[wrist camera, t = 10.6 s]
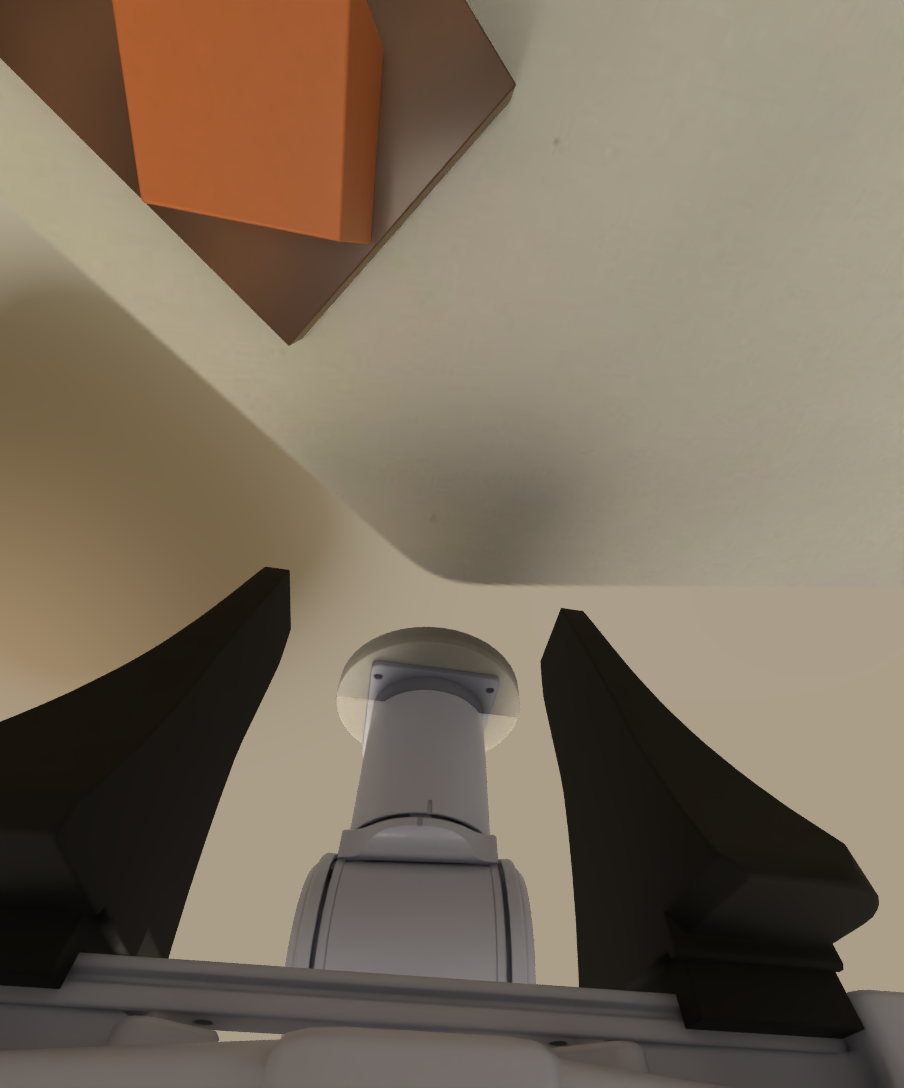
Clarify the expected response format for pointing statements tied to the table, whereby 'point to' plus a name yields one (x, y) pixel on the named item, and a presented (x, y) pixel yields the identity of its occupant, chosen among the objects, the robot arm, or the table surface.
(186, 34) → the block
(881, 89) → the table surface
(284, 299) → the board
